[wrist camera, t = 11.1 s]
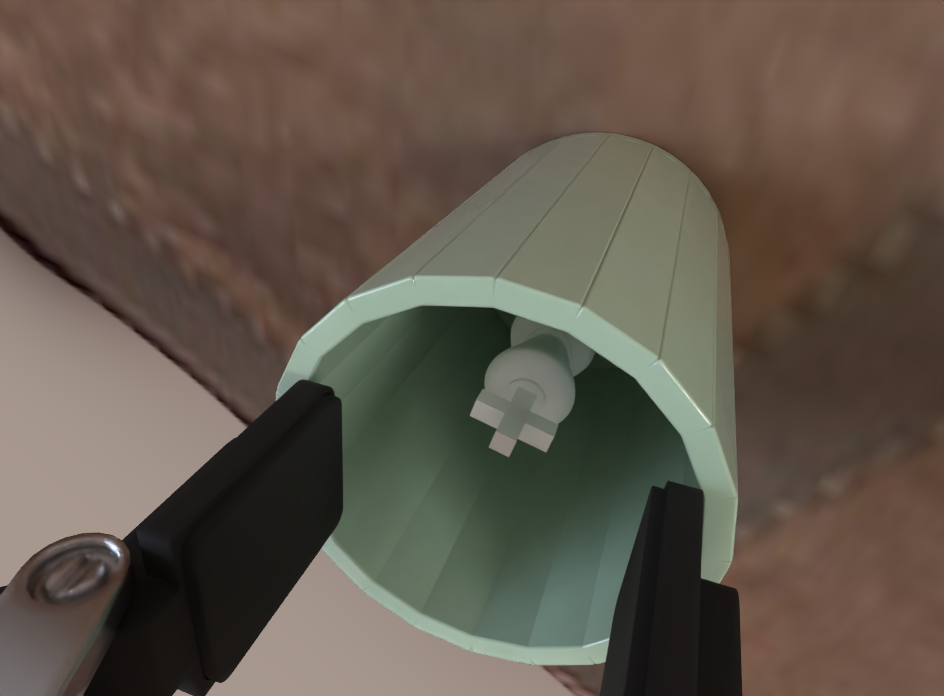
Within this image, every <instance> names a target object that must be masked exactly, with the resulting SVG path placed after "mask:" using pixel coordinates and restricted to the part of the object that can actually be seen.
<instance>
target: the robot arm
mask: <svg viewBox="0 0 944 696" xmlns="http://www.w3.org/2000/svg"><path fill="white" fill-rule="evenodd" d="M703 499H704V494H703V490H701V489H697V488H694V487H690V486H687V485H683V484H679V483H676V482H672V481H667V483H666V485H665V488H664V489H663V488H660V487H656V486H652V487H651V490H650V493H649V496H648V499H647V503H646V506H645V509H644V512H643V516H642V519H641V522H640V526H639V529H638V532H637V536H636V539H635V542H634V545H633V549H632V552H631V555H630V559H629V562H628V565H627V568H626V572H625V575H624V578H623V582H622V585H621V588H620V592H619V595H618V598H617V602H616V606H615V611H614V616H613V621H612V627H611V633H610V639H609V644H608V650H607V656H606V662H605V668H604V674H603V680H602V685H601V691H600V696H742V676H741V642H740V609H739V595H738V592H737V589H735V588H732V587H728V586H725V585H722V584H719V583H715V582H712V581H709V580H706V579H702V578H701V558H702V528H703ZM342 512H343V448H342V402H341V399H340V398H339V397H336V396H335V393H334V390H333V388H331V387H330V386H326V385H323V384H319V383H315V382H312V381H308V380H305V379H302V380H299V381H298V382H296V383H295V384H294V385H293V386H292V387H291V388H290V389H288V390H287V391H286V392H285V393H284V394H283V395H282V396H281V397H280V398H279V399H278V400H277V401H276V402H274V403H273V404H272V405H271V406H270V407H269V408H268V409H267V410H266V411H265V412H264V413H263V414H261V415H260V416H259V417H258V418H257V419H256V420H255V421H254V422H253V423H252V424H251V425H250V426H249V427H247V428H246V429H245V430H244V431H243V432H242V433H241V434H240V435H239V436H238V437H237V438H234V439H233V440H231V441H230V442H229V443H227V444H226V445H225V446H224V447H223V448H222V449H221V450H220V451H219V452H217V453H216V454H215V455H214V456H213V457H212V458H211V459H210V460H209V461H208V462H207V463H205V464H204V465H203V466H202V467H201V468H200V469H199V470H198V471H197V472H196V473H195V474H194V475H193V476H191V477H190V478H189V479H188V480H187V481H186V482H185V483H184V484H183V485H182V486H180V487H179V488H178V489H177V490H176V491H175V492H174V493H173V494H172V495H171V496H170V497H169V498H167V499H166V500H165V501H164V502H163V503H162V504H161V505H160V506H159V507H158V508H157V509H156V510H154V511H153V512H152V513H151V514H150V515H149V516H148V517H147V518H146V519H145V520H144V521H142V522H141V523H140V524H139V525H138V526H137V527H136V528H135V529H134V530H133V531H132V532H131V533H129V534H128V535H127V536H126V537H125V538H124V539H123V540H120V539H118V538H116V537H115V536H113V535H109V534H104V533H82V534H78V535H74V536H70V537H66V538H63V539H61V540H59V541H56V542H54V543H52V544H50V545H48V546H46V547H45V548H43V549H42V550H40V551H39V552H37V553H36V554H34V555H33V556H32V557H31V558H30V559H29V560H28V561H27V562H26V563H25V564H24V565H23V566H22V567H21V569H20V570H19V571H18V572H17V574H16V575H15V576H14V578H13V579H12V580H11V582H10V583H9V585H7V586H3V587H0V696H172V695H173V694H174V693H175V691H176V690H177V689H179V690H181V691H183V692H186V693H188V694H191V695H193V696H205V695H206V694H207V692H208V691H209V690H210V688H211V687H212V686H213V684H214V683H215V682H219V683H221V682H224V681H225V680H226V679H227V678H228V677H229V676H230V675H231V674H232V672H233V671H234V669H235V668H236V667H237V665H238V664H239V662H240V661H241V660H242V658H243V657H244V656H245V654H246V653H247V651H248V650H249V649H250V647H251V646H252V644H253V643H254V641H255V640H256V639H257V637H258V636H259V634H260V633H261V632H262V630H263V629H264V628H265V626H266V625H267V623H268V622H269V621H270V619H271V618H272V616H273V615H274V614H275V612H276V611H277V610H278V608H279V607H280V605H281V604H282V603H283V601H284V599H285V598H286V597H287V596H288V594H289V593H290V591H291V590H292V588H293V587H294V586H295V584H296V583H297V581H298V580H299V579H300V577H301V576H302V575H303V573H304V572H305V570H306V569H307V568H308V566H309V565H310V563H311V562H312V560H313V559H314V558H315V556H316V555H317V554H318V552H319V551H320V549H321V548H322V547H323V545H324V544H325V542H326V541H327V540H328V538H329V537H330V535H331V534H332V533H333V531H334V530H335V528H336V527H337V525H338V523H339V521H340V519H341V516H342Z"/></svg>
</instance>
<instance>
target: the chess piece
mask: <svg viewBox="0 0 944 696" xmlns="http://www.w3.org/2000/svg"><path fill="white" fill-rule="evenodd" d="M510 337H511V347H510V348H508V349H506V350H505V351H503V352H501V353H500V354H499V355H498V356H496V357H495V358H494V359H493V361H492V362H491V363H490V365H489V366H488V368H487V371H486V374H485V380H484V387H485V389H482V391H481V392H480V394H479V396H478V397H477V399H476V401H475V404H474V406H473V409H472V411H471V414H470V416H471V417H473V418H475V419H477V420H479V421H482V422H484V423H486V424H488V425H490V426H492V427H494V428H496V429H497V430H496V432H495V434H494V436H493V438H492V441H491V443H490V445H489V448H491V449H493V450H495V451H497V452H499V453H501V454H503V455H505V456H507V457H509V456H510V454H511V452H512V450H513V448H514V446H515V444H516V441H517V439H519V440H521V441H523V442H525V443H527V444H530V445H532V446H534V447H536V448H538V449H540V450H542V451H544V452H547V450H548V448H549V446H550V444H551V442H552V440H553V438H554V436H555V434H556V431H557V428H558V426H559V424H558V423H560V422H561V421H563V420H564V419H565V418H566V417H567V416H568V414H569V413H570V411H571V409H572V407H573V405H574V401H575V392H576V390H575V382H574V376H576V375H578V374H579V373H580V372H582V371H583V370H584V369H585V368H586V367H587V366H588V365H589V364H590V362H591V361H592V359H593V357H594V354H595V351H594V350H593V349H591V348H590V347H588V346H587V345H585V344H584V343H582V342H581V341H579V340H578V339H576V338H575V337H574V336H572V335H571V334H569V333H568V332H565V331H562V330H559V329H556V328H553V327H550V326H547V325H544V324H541V323H538V322H535V321H532V320H529V319H526V318H523V317H520V316H517V317H516V318H515V320H514V322H513V324H512V328H511V335H510Z"/></svg>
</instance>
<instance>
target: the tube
mask: <svg viewBox="0 0 944 696" xmlns="http://www.w3.org/2000/svg"><path fill="white" fill-rule="evenodd" d="M517 316H520V317H523V318H526V319H529V320H532V321H535V322H538V323H541V324H544V325H547V326H550V327H553V328H556V329H559V330H562V331H565V332H568V333H569V334H571V335H572V336H574V337H575V338H576V339H578V340H579V341H581V342H582V343H584V344H585V345H587V346H588V347H590V348H591V349H593V350H594V351H595V354H594V357H593V359H592V361H591V362H590V364H589V365H588V366H587V367H586V368H585V369H584V370H583V371H582V372H580V373H579V374H578V375H576V376H574V382H575V390H576V392H575V401H574V405H573V407H572V409H571V411H570V413H569V414H568V416H567V417H566V418H565V419H564V420H563V421H561V422H560V423H558V424H559V426H558V428H557V431H556V434H555V436H554V438H553V440H552V442H551V444H550V446H549V448H548V450H547V452H544V451H542V450H540V449H538V448H536V447H534V446H532V445H530V444H527V443H525V442H523V441H521V440H519V439H517V441H516V444H515V446H514V448H513V450H512V452H511V454H510V456H509V457H507V456H505V455H503V454H501V453H499V452H497V451H495V450H493V449H491V448H489V445H490V443H491V441H492V438H493V436H494V434H495V432H496V430H497V429H496V428H494V427H492V426H490V425H488V424H486V423H484V422H482V421H479V420H477V419H475V418H473V417H471V416H470V414H471V411H472V409H473V406H474V404H475V401H476V399H477V397H478V396H479V394H480V392H481V391H482V389H485V387H484V380H485V374H486V371H487V368H488V366H489V365H490V363H491V362H492V361H493V359H494V358H495V357H496V356H498V355H499V354H500V353H501V352H503V351H505V350H506V349H508V348H510V347H511V337H510V335H511V328H512V324H513V322H514V320H515V318H516V317H517ZM302 379H305V380H308V381H312V382H315V383H319V384H323V385H326V386H330V387H331V388H333V390H334V393H335V396H336V397H339V398H340V399H341V402H342V448H343V512H342V516H341V519H340V521H339V523H338V525H337V527H336V528H335V530H334V531H333V533H332V534H331V535H330V537H329V538H328V540H327V541H326V542H325V544H324V545H323V547H322V548H321V549H322V550H323V551H324V552H325V553H326V554H327V556H328V557H329V558H330V559H331V560H332V561H333V562H334V563H335V564H336V565H337V566H338V567H339V568H340V569H341V570H342V571H343V572H344V573H345V574H346V575H347V576H348V577H349V578H350V579H351V580H352V581H353V582H354V583H355V584H356V585H357V587H358V588H360V590H364V593H365V594H367V595H368V596H370V597H371V598H373V599H374V600H376V601H377V602H378V603H380V604H381V605H383V606H384V607H386V608H387V609H389V610H390V611H392V612H393V613H394V614H396V615H397V616H399V617H400V618H402V619H403V620H404V621H406V622H407V623H409V624H410V625H415V627H416V628H418V629H420V630H422V631H424V632H427V633H429V634H431V635H434V636H436V637H438V638H440V639H443V640H445V641H447V642H450V643H452V644H454V645H456V646H459V647H461V648H463V649H466V650H468V651H471V650H472V651H473V652H474V653H478V654H483V655H487V656H492V657H497V658H501V659H506V660H510V661H515V662H519V663H525V664H529V665H531V664H534V665H593V664H594V663H595V664H600V663H603V662H606V656H607V650H608V644H609V639H610V633H611V627H612V621H613V616H614V611H615V606H616V602H617V598H618V595H619V592H620V588H621V585H622V582H623V578H624V575H625V572H626V568H627V565H628V562H629V559H630V555H631V552H632V549H633V545H634V542H635V539H636V536H637V532H638V529H639V526H640V522H641V519H642V516H643V512H644V509H645V506H646V503H647V499H648V496H649V493H650V490H651V487H652V486H656V487H660V488H663V489H664V488H665V485H666V483H667V481H672V482H676V483H679V484H683V485H687V486H690V487H694V488H697V489H701V490H703V494H704V499H703V528H702V558H701V578H702V579H706V580H709V581H712V582H715V583H719V584H720V582H721V580H722V579H723V577H724V575H725V574H726V572H727V570H728V569H729V567H730V565H731V562H732V560H733V552H734V541H735V530H736V519H737V509H738V478H737V450H736V422H735V394H734V366H733V338H732V310H731V282H730V254H729V246H728V243H727V238H726V233H725V229H724V224H723V221H722V218H721V216H720V213H719V210H718V208H717V206H716V204H715V202H714V200H713V199H712V197H711V195H710V193H709V191H708V190H707V189H706V187H705V186H704V185H703V184H702V182H701V181H700V180H699V178H698V177H697V176H696V175H695V174H694V173H693V172H692V171H691V170H690V169H689V168H688V167H687V166H686V165H685V164H683V163H682V162H681V161H679V160H678V159H677V158H675V157H674V156H673V155H671V154H670V153H668V152H666V151H664V150H663V149H661V148H659V147H657V146H655V145H653V144H651V143H648V142H645V141H643V140H640V139H637V138H634V137H629V136H625V135H621V134H613V133H602V132H597V133H580V134H575V135H569V136H564V137H561V138H558V139H555V140H552V141H549V142H547V143H544V144H542V145H540V146H538V147H536V148H534V149H532V150H531V151H529V152H526V153H525V154H523V155H522V156H520V157H519V158H518V159H517V160H515V161H514V162H513V163H512V164H510V165H509V166H508V167H507V168H505V169H504V170H503V171H502V172H500V173H499V174H498V175H497V176H496V177H494V178H493V179H492V180H491V181H489V182H488V183H487V184H486V185H484V186H483V187H482V188H481V189H479V190H478V191H477V192H476V193H475V194H473V195H472V196H471V197H470V198H468V199H467V200H466V201H465V202H463V203H462V204H461V205H460V206H458V207H457V208H456V209H455V210H453V211H452V212H451V213H450V214H449V215H447V216H446V217H445V218H444V219H442V220H441V221H440V222H439V223H437V224H436V225H435V226H434V227H432V228H431V229H430V230H429V231H428V232H426V233H425V234H424V235H423V236H421V237H420V238H419V239H418V240H416V241H415V242H414V243H413V244H411V245H410V246H409V247H408V248H406V249H405V250H404V251H403V252H402V253H400V254H399V255H398V256H397V257H395V258H394V259H393V260H392V261H390V262H389V263H388V264H387V265H385V266H384V267H383V268H382V269H381V270H379V271H378V272H377V273H376V274H374V275H373V276H372V277H371V278H369V279H368V280H367V281H366V282H364V283H363V284H362V285H361V286H359V287H358V288H357V289H356V290H355V291H353V292H352V293H351V294H350V295H348V296H347V297H346V298H345V299H343V300H342V301H341V302H340V303H339V304H338V305H337V306H335V307H334V308H333V309H332V310H331V311H330V312H329V313H327V314H326V315H325V316H324V317H323V318H322V319H321V320H319V321H318V322H317V323H316V324H315V325H314V326H313V327H311V328H310V329H309V330H308V331H307V332H306V333H305V334H303V335H302V337H301V339H299V341H298V343H297V345H296V347H295V349H294V352H293V354H292V356H291V358H290V360H289V362H288V365H287V367H286V369H285V371H284V373H283V375H282V378H281V380H280V382H279V384H278V387H277V391H276V401H277V400H278V399H279V398H280V397H281V396H282V395H283V394H284V393H285V392H286V391H287V390H288V389H290V388H291V387H292V386H293V385H294V384H295V383H296V382H298V381H299V380H302Z"/></svg>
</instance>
